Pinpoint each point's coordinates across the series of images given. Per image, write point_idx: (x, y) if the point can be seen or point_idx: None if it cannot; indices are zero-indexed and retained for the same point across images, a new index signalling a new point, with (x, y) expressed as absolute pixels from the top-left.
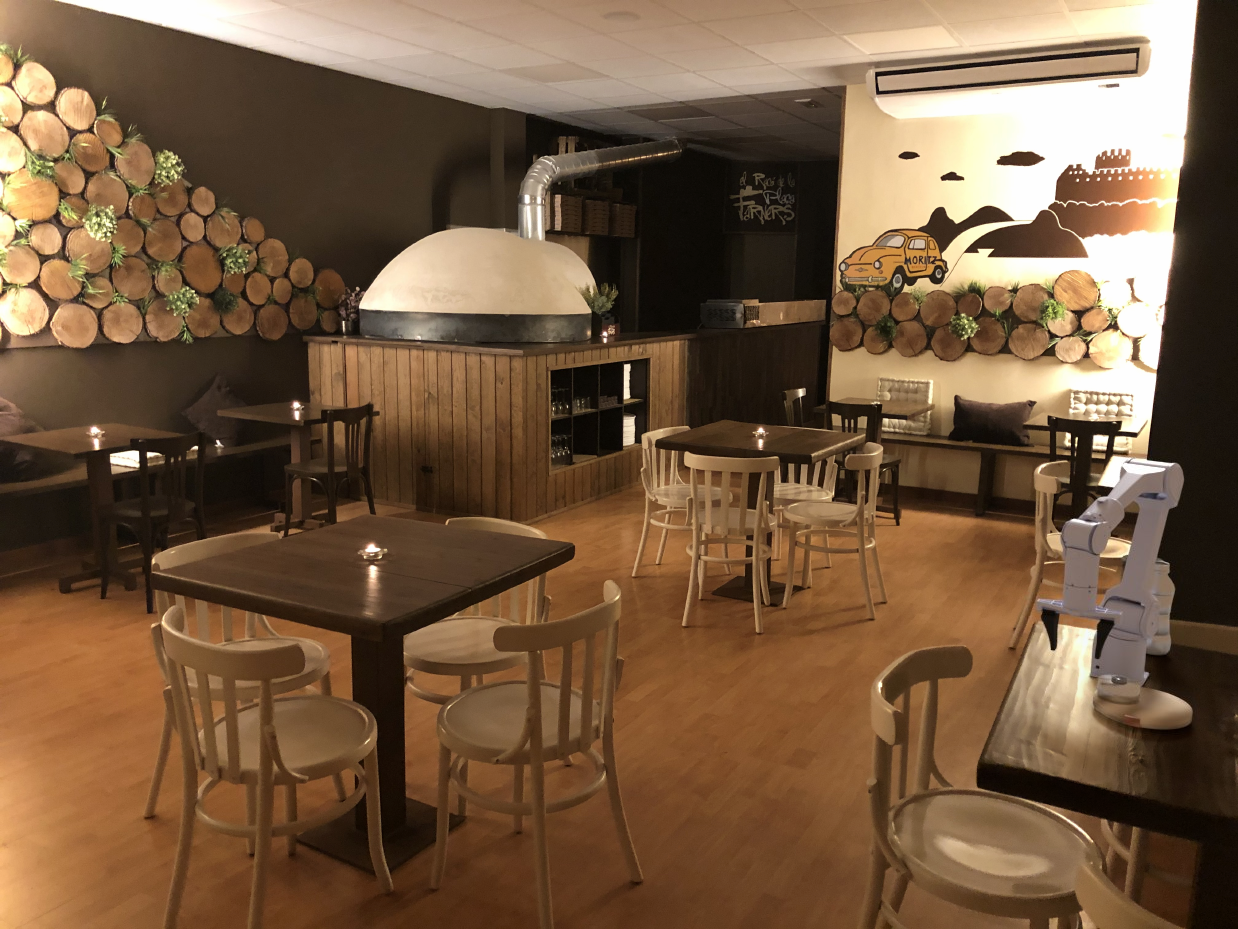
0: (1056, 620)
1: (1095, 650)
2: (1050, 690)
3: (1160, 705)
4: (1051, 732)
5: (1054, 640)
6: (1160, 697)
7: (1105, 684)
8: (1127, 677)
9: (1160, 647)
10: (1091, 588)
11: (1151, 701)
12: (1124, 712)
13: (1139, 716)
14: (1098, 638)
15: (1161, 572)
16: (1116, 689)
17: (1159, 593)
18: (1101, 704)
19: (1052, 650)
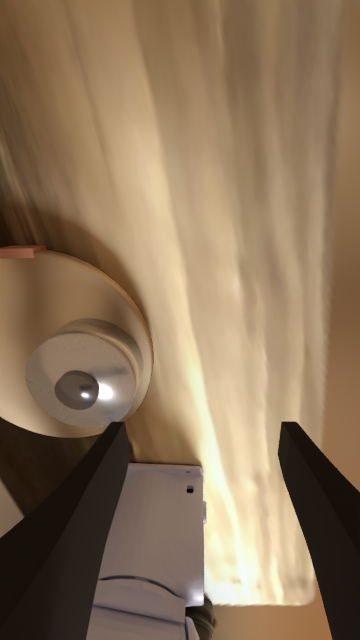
0: (357, 636)
1: (108, 448)
2: (254, 369)
3: (10, 366)
4: (189, 69)
5: (302, 466)
6: (32, 406)
7: (98, 349)
8: (77, 424)
9: None
10: None
11: None
12: (43, 273)
13: (6, 269)
14: (63, 513)
15: None
16: (65, 336)
17: None
18: (108, 292)
19: (290, 422)
